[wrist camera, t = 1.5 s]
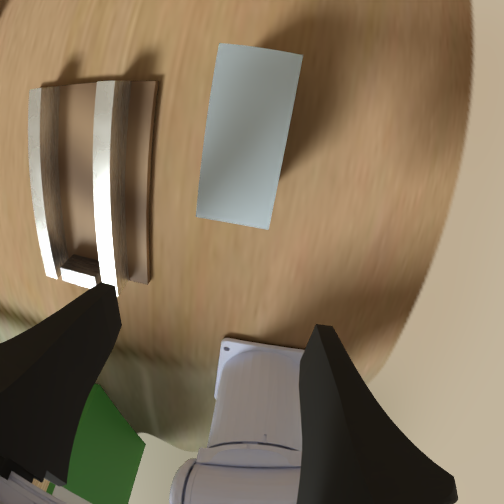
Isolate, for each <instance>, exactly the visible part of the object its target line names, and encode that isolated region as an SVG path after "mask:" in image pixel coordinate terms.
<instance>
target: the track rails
mask: <svg viewBox="0 0 504 504" xmlns="http://www.w3.org/2000/svg"><path fill="white" fill-rule="evenodd" d="M131 84H132V81H97V86H96V97H95V110H94V127H93V194H94V212H95V226H96V237H97V246H98V255H99V260H95V259H91V258H87V257H83V256H79V255H75V254H73V255H72V256H71V257H70V258H69V256H68V251H67V244H66V238H65V231H64V223H63V215H62V206H61V195H60V181H59V159H58V122H59V101H60V88H61V86H54V87H44V88H37V89H31V90H30V91H29V109H28V151H29V170H30V182H31V192H32V201H33V208H34V215H35V222H36V228H37V234H38V239H39V244H40V249H41V254H42V259H43V263H44V267H45V272H46V276H50V277H53V278H56V279H58V277H59V276H60V275H62V279H63V281H66V282H69V283H72V284H76V285H79V286H83V287H86V288H90V289H91V288H92V287H94V286H95V285H97V284H99V283H100V282H104V283H107V284H111V285H115V287H116V294H117V296H119V294H120V293H121V291H122V290H123V288H124V287H125V286H126V284H127V283H128V281H129V272H128V259H127V243H126V218H125V167H126V142H127V126H128V113H129V102H130V93H131Z"/></svg>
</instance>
